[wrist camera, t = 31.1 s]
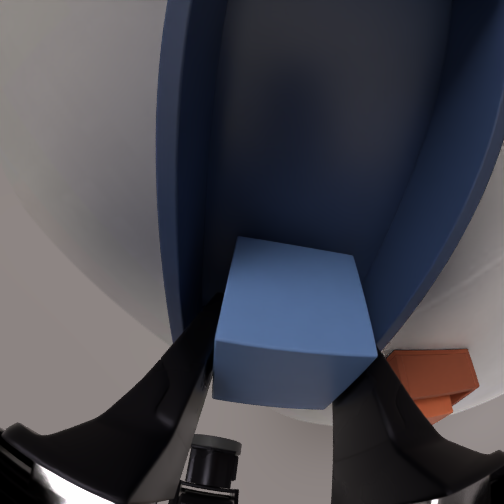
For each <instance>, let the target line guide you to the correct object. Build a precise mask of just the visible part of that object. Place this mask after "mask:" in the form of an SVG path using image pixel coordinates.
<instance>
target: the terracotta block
mask: <svg viewBox="0 0 504 504" xmlns="http://www.w3.org/2000/svg"><path fill="white" fill-rule="evenodd" d="M413 401H414V402H415V404H416V405H417V406H418V408H419V409H420V410H421V412H422V413H423V414H424V416H425V417H426V418H427V419H428V421H429V422H430V423H431V425H433V424H434V423H436V422H438V421H440V420H441V419H443V418H445V417H446V416H448V415H450V414H451V413H453V409H452V404H451V400H450V396H449V395H445V396H438V397H432V398H425V399H417V400H413Z"/></svg>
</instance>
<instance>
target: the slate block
mask: <svg viewBox="0 0 504 504" xmlns="http://www.w3.org/2000/svg"><path fill="white" fill-rule="evenodd" d="M377 356H378V354H377V349H376V344H375V339H374V334H373V330H372V325H371V321H370V317H369V313H368V309H367V304H366V301H365V297H364V293H363V289H362V285H361V282H360V278H359V274H358V271H357V267H356V264H355V260H354V257H353V256H352V255H347V254H341V253H336V252H330V251H324V250H319V249H313V248H307V247H301V246H295V245H289V244H284V243H278V242H272V241H266V240H260V239H254V238H247V237H241V236H238V237H237V240H236V245H235V249H234V253H233V258H232V262H231V267H230V271H229V275H228V280H227V284H226V289H225V293H224V298H223V302H222V307H221V312H220V316H219V321H218V325H217V330H216V335H215V342H214V362H213V385H212V398H213V399H217V400H223V401H230V402H237V403H243V404H251V405H260V406H269V407H281V408H295V409H320V410H323V409H325V408H326V407H327V406H328V405H330V404H331V403H332V402H333V401H334V400H335V399H336V398H337V397H338V396H339V395H340V394H341V393H343V392H344V391H345V390H346V389H347V388H348V387H349V386H350V385H351V384H352V383H353V382H354V381H355V380H356V379H357V378H358V377H359V376H360V375H361V374H362V373H363V372H364V371H365V370H366V369H367V368H368V366H369V365H370V364H371V363H372V362H373V361H374V360H375V359H376V358H377Z"/></svg>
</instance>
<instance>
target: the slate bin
mask: <svg viewBox="0 0 504 504" xmlns="http://www.w3.org/2000/svg"><path fill="white" fill-rule="evenodd" d="M503 140H504V0H168V2H167V8H166V14H165V21H164V28H163V36H162V44H161V53H160V64H159V76H158V90H157V111H156V187H157V209H158V225H159V238H160V250H161V260H162V270H163V278H164V287H165V294H166V302H167V309H168V316H169V322H170V328H171V334H172V340H173V343H174V342H175V341H176V340H177V338H178V337H179V336H180V335H181V334H182V333H183V331H184V330H185V329H186V328H187V327H188V326H189V324H190V323H191V322H192V321H193V320H194V318H195V317H196V316H197V315H198V314H199V313H200V311H201V310H202V309H203V308H204V307H205V305H206V304H207V303H208V302H209V301H210V300H211V298H212V297H213V296H214V295H215V294H216V293H217V292H223V293H225V289H226V284H227V280H228V275H229V271H230V267H231V262H232V258H233V253H234V249H235V245H236V240H237V237H238V236H241V237H247V238H254V239H260V240H266V241H272V242H278V243H284V244H289V245H295V246H301V247H307V248H313V249H319V250H324V251H330V252H336V253H341V254H347V255H352V256H353V257H354V260H355V264H356V267H357V271H358V274H359V278H360V282H361V285H362V289H363V293H364V297H365V301H366V304H367V309H368V313H369V317H370V321H371V325H372V330H373V334H374V339H375V344H376V345H377V347H378V348H379V350H380V351H382V350H383V348H384V347H385V346H386V345H387V344H388V343H389V341H390V340H391V339H392V338H393V337H394V335H395V334H396V333H397V332H398V331H399V329H400V328H401V327H402V326H403V324H404V323H405V322H406V321H407V319H408V318H409V317H410V315H411V314H412V313H413V311H414V310H415V309H416V307H417V306H418V305H419V303H420V302H421V301H422V299H423V298H424V296H425V295H426V294H427V292H428V291H429V289H430V288H431V286H432V285H433V283H434V282H435V280H436V279H437V277H438V276H439V274H440V273H441V271H442V270H443V268H444V266H445V265H446V263H447V262H448V260H449V258H450V257H451V255H452V253H453V252H454V250H455V248H456V246H457V245H458V243H459V241H460V239H461V237H462V236H463V234H464V232H465V230H466V228H467V226H468V224H469V222H470V221H471V219H472V217H473V215H474V212H475V210H476V208H477V206H478V204H479V202H480V200H481V198H482V195H483V193H484V191H485V189H486V186H487V184H488V181H489V179H490V177H491V174H492V171H493V169H494V166H495V164H496V161H497V158H498V155H499V152H500V149H501V146H502V143H503Z"/></svg>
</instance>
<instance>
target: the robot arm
mask: <svg viewBox="0 0 504 504" xmlns="http://www.w3.org/2000/svg"><path fill="white" fill-rule="evenodd" d="M223 298H224V293H223V292H217V293H216V294H215V295H214V296H213V297H212V298H211V300H210V301H209V302H208V303H207V304H206V305H205V307H204V308H203V309H202V310H201V311H200V313H199V314H198V315H197V316H196V317H195V318H194V320H193V321H192V322H191V323H190V324H189V326H188V327H187V328H186V329H185V330H184V331H183V333H182V334H181V335H180V336H179V337H178V338H177V340H176V341H175V342H174V343H173V344H172V346H171V347H170V348H169V349H168V350H167V352H166V353H165V354H164V355H163V356H162V357H161V360H159V361H158V362H157V363H156V364H155V366H154V367H153V368H152V369H151V370H150V371H149V372H148V373H147V374H146V375H145V377H144V378H143V379H142V380H141V381H139V382H138V383H137V384H136V385H135V386H134V387H133V388H132V389H131V390H130V391H129V392H128V393H127V394H125V395H124V396H123V397H122V398H121V399H120V400H119V401H117V402H116V403H115V404H114V405H113V406H112V407H111V408H109V409H108V410H107V411H106V412H105V413H103V414H102V415H100V416H98V417H97V418H95V419H93V420H90V421H88V422H85V423H82V424H80V425H77V426H74V427H72V428H69V429H66V430H63V431H60V432H58V433H54V434H50V435H40V434H38V433H36V432H34V431H33V430H31V429H29V428H27V427H26V426H24V425H22V424H21V423H15V424H14V425H12V426H10V427H8V428H7V429H6V430H3V429H2V428H0V504H157V502H160V501H165V500H169V503H168V504H238V495H239V494H238V493H239V490H238V489H230V486H231V481H234V480H236V473H237V465H238V456H235V455H236V451H231V450H224V449H218V448H212V447H206V446H201V445H195V444H191V443H192V439H193V436H194V433H195V430H196V426H197V424H198V420H199V417H200V414H201V411H202V408H203V405H204V401H205V398H206V395H207V391H208V389H209V385H210V382H211V379H212V376H213V362H214V342H215V335H216V330H217V325H218V321H219V316H220V312H221V307H222V302H223ZM376 349H377V354H378V356H377V358H376V359H375V360H374V361H373V362H372V363H371V364H370V365H369V366H368V368H367V369H366V370H365V371H364V372H363V373H362V374H361V375H360V376H359V377H358V378H357V379H356V380H355V381H354V382H353V383H352V384H351V385H350V386H349V387H348V388H347V389H346V390H345V391H344V392H343V393H341V394H340V395H339V396H338V397H337V398H336V399H335V400H334V401H333V402H332V405H333V476H332V497H331V504H504V452H502V451H501V450H498V451H495V452H493V453H491V454H482V453H479V452H476V451H473V450H471V449H468V448H466V447H463V446H460V445H458V444H456V443H453V442H451V441H448V440H446V439H445V438H443V437H442V436H441V435H440V434H439V433H438V432H437V431H436V430H435V429H434V427H433V426H432V425H431V423H430V422H429V421H428V419H427V418H426V417H425V416H424V414H423V413H422V412H421V410H420V409H419V408H418V406H417V405H416V404H415V402H414V401H413V399H412V398H411V396H410V395H409V394H408V392H407V391H406V389H405V387H404V386H403V384H402V383H401V381H400V380H399V378H398V377H397V375H396V374H395V372H394V371H393V369H392V368H391V366H390V365H389V363H388V362H387V360H386V359H385V357H384V356H383V354H382V353H381V351H380V350H379V348H378V347H377V345H376ZM400 383H401V384H400ZM190 448H191V452H190V458H189V463H188V468H187V474H186V479H185V481H186V482H184V481H182V480H180V478H181V474H182V471H183V468H184V465H185V461H186V458H187V455H188V452H189V449H190ZM189 482H191V483H189ZM194 483H195V484H194ZM182 485H186V486H191V487H195V488H201V489H207V490H213V491H219V492H227V493H230V496H229V495H221V494H214V493H208V492H202V491H196V490H192V489H187V488H182ZM224 488H227V489H224Z"/></svg>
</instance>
